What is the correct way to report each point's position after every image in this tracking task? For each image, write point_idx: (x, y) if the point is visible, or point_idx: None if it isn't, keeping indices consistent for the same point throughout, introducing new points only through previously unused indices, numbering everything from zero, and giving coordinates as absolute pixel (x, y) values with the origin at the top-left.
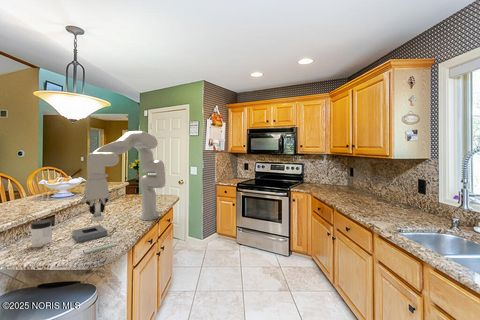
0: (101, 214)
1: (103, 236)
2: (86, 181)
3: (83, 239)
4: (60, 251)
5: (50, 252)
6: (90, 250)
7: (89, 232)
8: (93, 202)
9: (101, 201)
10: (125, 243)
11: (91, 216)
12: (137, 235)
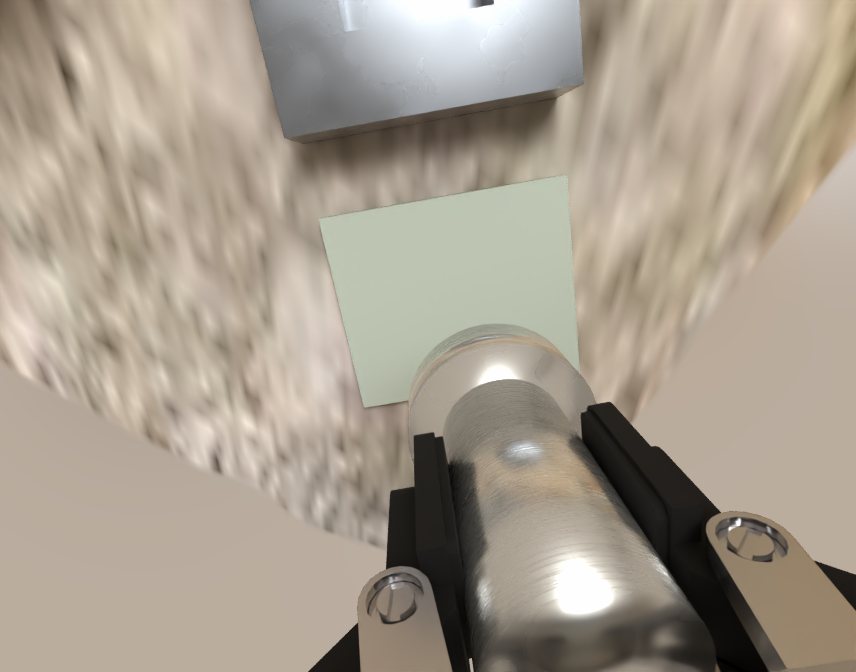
0: (576, 377)
1: (524, 100)
2: None
3: (343, 133)
4: (189, 236)
5: (114, 210)
6: (397, 390)
7: (398, 28)
8: (497, 660)
9: (743, 614)
10: (636, 358)
11: (418, 422)
12: (784, 223)
